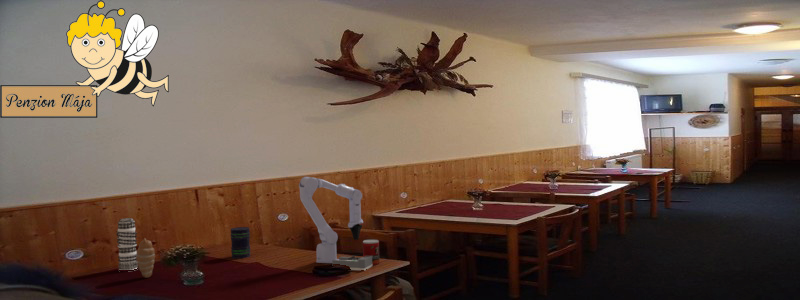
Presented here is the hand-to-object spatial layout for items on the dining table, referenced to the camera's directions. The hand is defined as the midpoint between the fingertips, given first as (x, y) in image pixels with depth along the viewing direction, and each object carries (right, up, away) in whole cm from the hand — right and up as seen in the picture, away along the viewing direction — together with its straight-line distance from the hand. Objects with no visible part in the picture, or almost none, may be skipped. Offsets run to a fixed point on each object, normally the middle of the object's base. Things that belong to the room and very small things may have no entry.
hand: (356, 239), depth 302 cm
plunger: (+1, -8, -23) cm, 25 cm away
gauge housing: (0, -10, -22) cm, 24 cm away
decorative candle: (-110, -13, -12) cm, 112 cm away
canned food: (+8, -10, -14) cm, 19 cm away
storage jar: (-62, -11, +13) cm, 64 cm away
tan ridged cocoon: (-93, -13, -30) cm, 99 cm away
